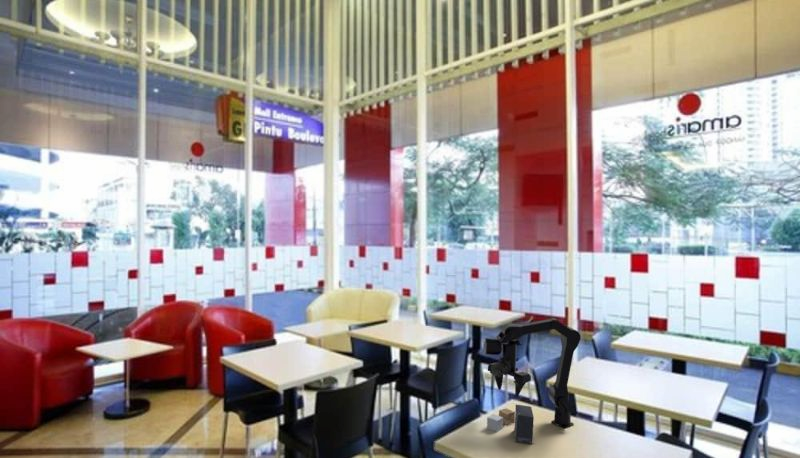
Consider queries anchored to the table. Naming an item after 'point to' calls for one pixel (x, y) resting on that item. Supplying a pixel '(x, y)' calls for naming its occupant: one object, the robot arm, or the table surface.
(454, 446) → the table surface
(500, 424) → the slate block
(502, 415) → the walnut cube
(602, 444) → the table surface
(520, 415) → the small box
